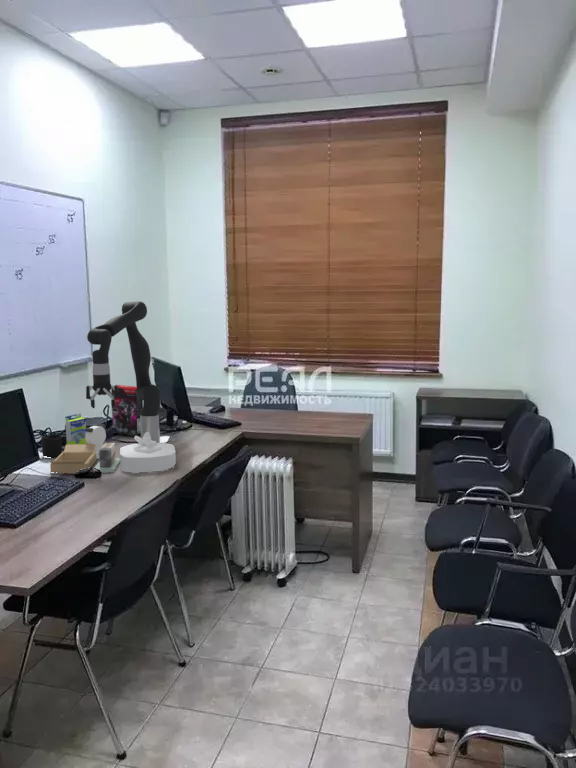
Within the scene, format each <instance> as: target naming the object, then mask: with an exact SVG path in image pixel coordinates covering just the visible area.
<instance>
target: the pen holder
mask: <svg viewBox="0 0 576 768" xmlns="http://www.w3.org/2000/svg"><path fill="white" fill-rule="evenodd" d="M40 440H41V441H40V442H41V449H42V457H43V456H47V457H51V458H53V459H56V458H57V457H58V456H59V455H60V454H61V453H62V452H63V435H62V434H57V433H54V434H53V433H52V434H50V435H48V436H44V435H43V436H41V437H40Z"/></svg>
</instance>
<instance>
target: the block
mask: <svg viewBox="0 0 576 768" xmlns="http://www.w3.org/2000/svg"><path fill="white" fill-rule="evenodd" d="M99 458H100V459H99V461H100V467H111V465H112V464H113V462H114V461H115V458H116V443H115V442H104V443H103V446H102V447H101V449H100V450H99Z"/></svg>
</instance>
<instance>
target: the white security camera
mask: <svg viewBox="0 0 576 768" xmlns="http://www.w3.org/2000/svg"><path fill="white" fill-rule="evenodd" d="M106 429H107V426H106V424H104V423H103V424H102V423H97V425H92V426H90V427H86V428H85V432H86V436H85V440H86V443H87V444H96V447H95V451H94V452H95V453H96V460H100V458H99V450H100V449H101V447H102V446H103V445H104V444H105V441H106V438H107V434H106V433H107V432H106Z"/></svg>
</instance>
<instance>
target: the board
mask: <svg viewBox="0 0 576 768" xmlns="http://www.w3.org/2000/svg"><path fill="white" fill-rule="evenodd" d="M117 466H118V467H119V466H120V457H115V461H114V462H113V464H112V465H111V467H100V460H98V462H97V464H95V466H94V468H96V469H98V470H100V471H101V472H102V473H103V474H105V473H106V474H107V473H109V472H110V473H115V471H116V470H117V468H118V467H117ZM115 469H116V470H115ZM110 473H109V474H110Z"/></svg>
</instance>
